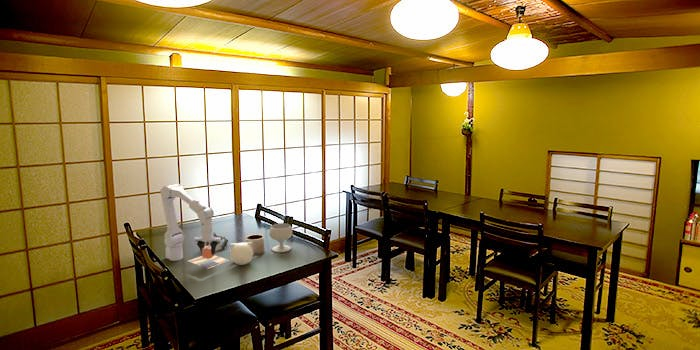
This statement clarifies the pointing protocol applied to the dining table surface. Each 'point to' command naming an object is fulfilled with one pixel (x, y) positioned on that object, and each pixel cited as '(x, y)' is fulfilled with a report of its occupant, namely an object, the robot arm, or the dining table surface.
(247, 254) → the cat head
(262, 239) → the planter
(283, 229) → the chalice
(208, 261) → the board
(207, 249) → the strapped orange box
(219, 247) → the lucky cat figurine
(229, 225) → the dining table surface
